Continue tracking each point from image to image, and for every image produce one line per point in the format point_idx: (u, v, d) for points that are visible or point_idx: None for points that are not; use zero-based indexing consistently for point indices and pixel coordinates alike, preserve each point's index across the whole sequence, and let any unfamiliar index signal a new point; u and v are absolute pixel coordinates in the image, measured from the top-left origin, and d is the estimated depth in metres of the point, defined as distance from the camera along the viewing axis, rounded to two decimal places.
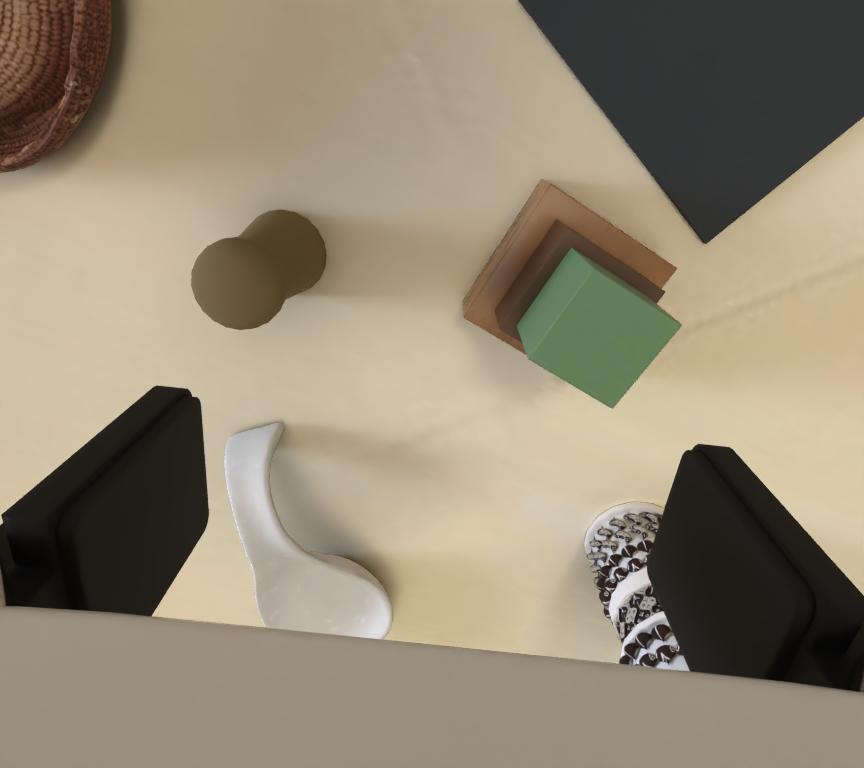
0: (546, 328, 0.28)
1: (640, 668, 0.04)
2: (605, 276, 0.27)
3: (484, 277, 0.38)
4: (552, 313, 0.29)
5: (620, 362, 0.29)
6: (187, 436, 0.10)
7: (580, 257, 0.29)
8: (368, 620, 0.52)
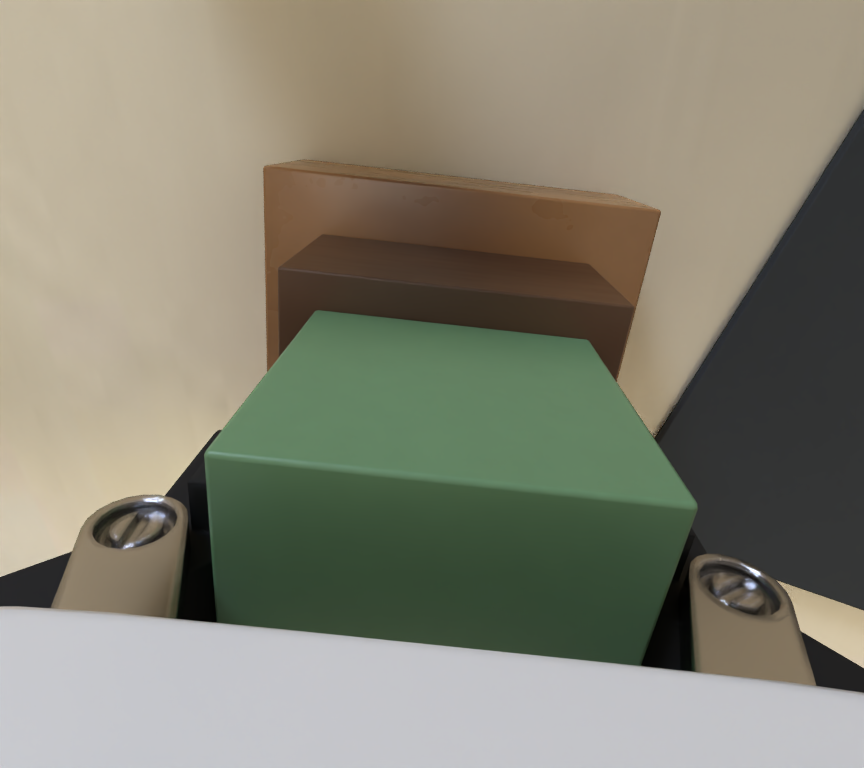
0: (369, 453, 0.06)
1: (640, 668, 0.04)
2: (677, 556, 0.06)
3: (381, 173, 0.15)
4: (428, 429, 0.07)
5: None
6: None
7: (623, 396, 0.09)
8: None
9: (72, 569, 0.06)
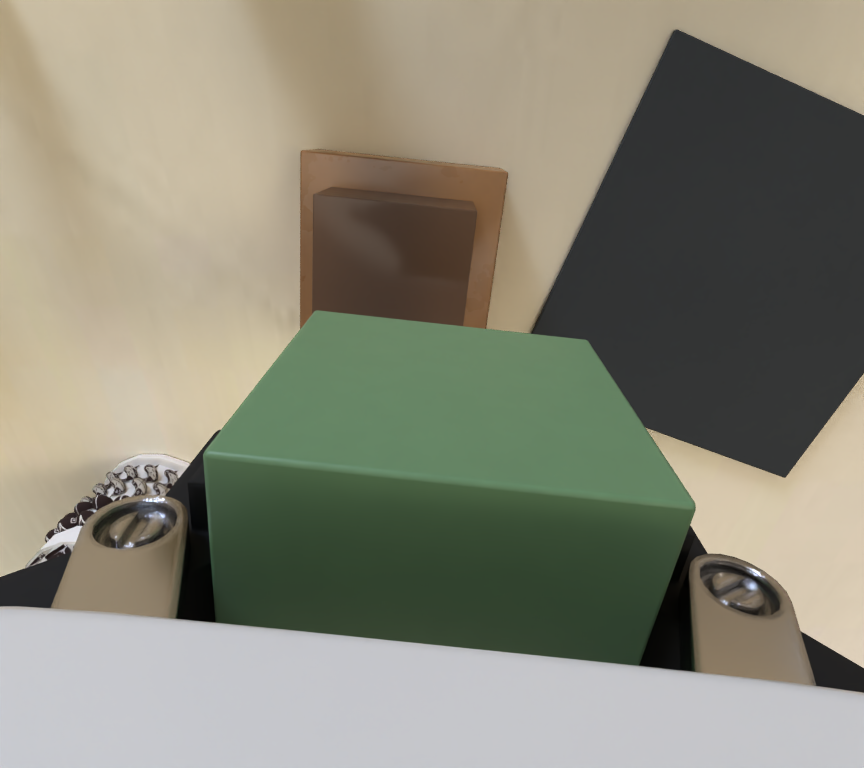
0: (368, 453, 0.06)
1: (640, 670, 0.04)
2: (675, 556, 0.06)
3: (362, 155, 0.28)
4: (427, 428, 0.07)
5: None
6: None
7: (621, 396, 0.09)
8: None
9: (72, 569, 0.06)
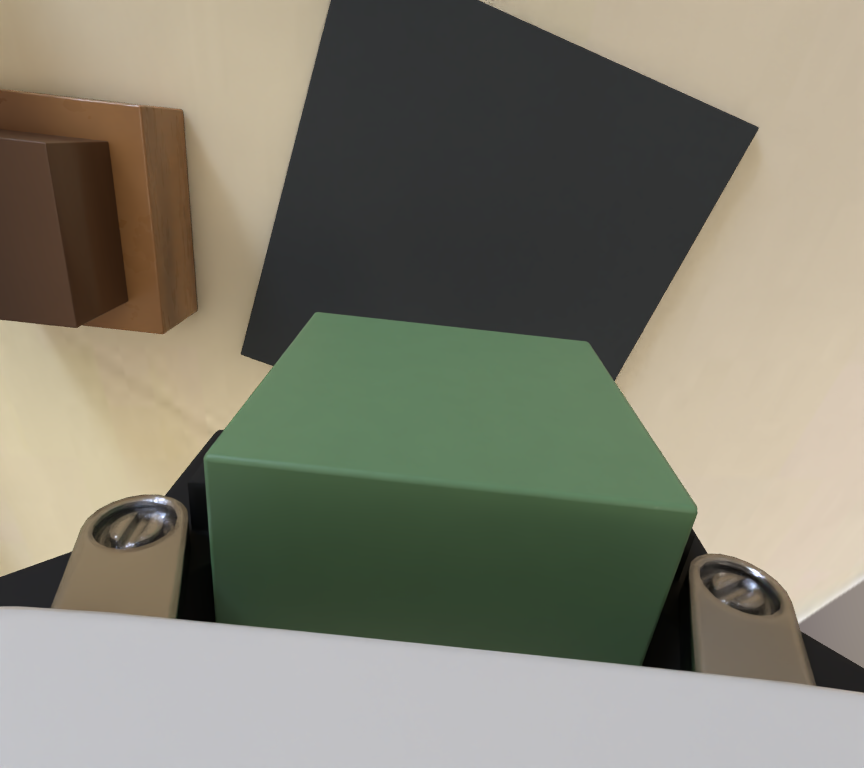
0: (368, 456, 0.06)
1: (640, 670, 0.04)
2: (677, 559, 0.06)
3: None
4: (427, 431, 0.07)
5: None
6: None
7: (623, 398, 0.09)
8: None
9: (72, 569, 0.06)
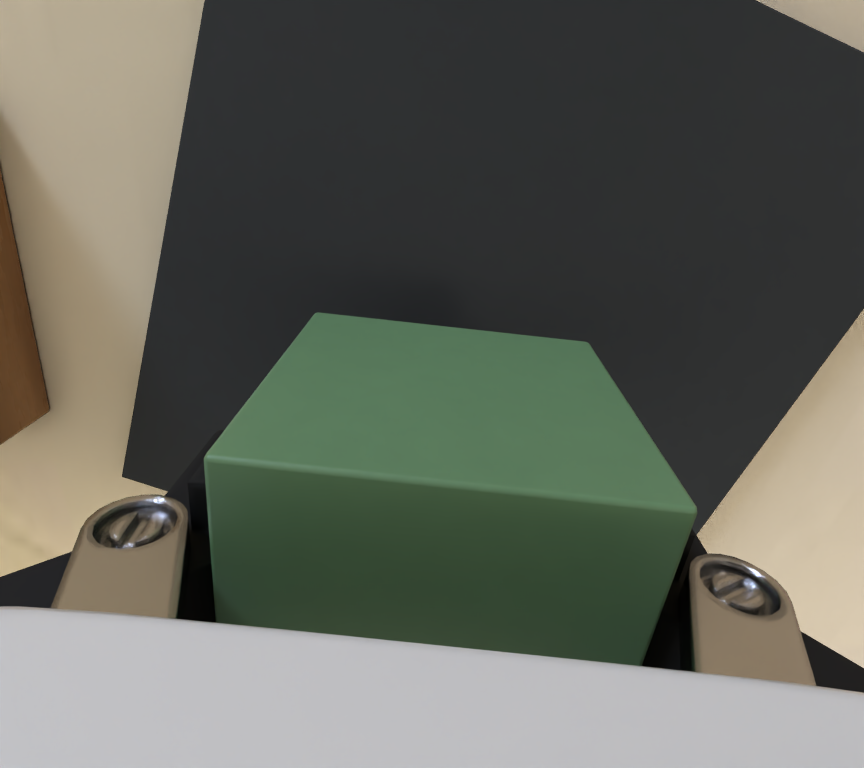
0: (368, 457, 0.06)
1: (640, 668, 0.04)
2: (676, 559, 0.06)
3: None
4: (427, 432, 0.07)
5: None
6: None
7: (622, 398, 0.09)
8: None
9: (72, 569, 0.06)
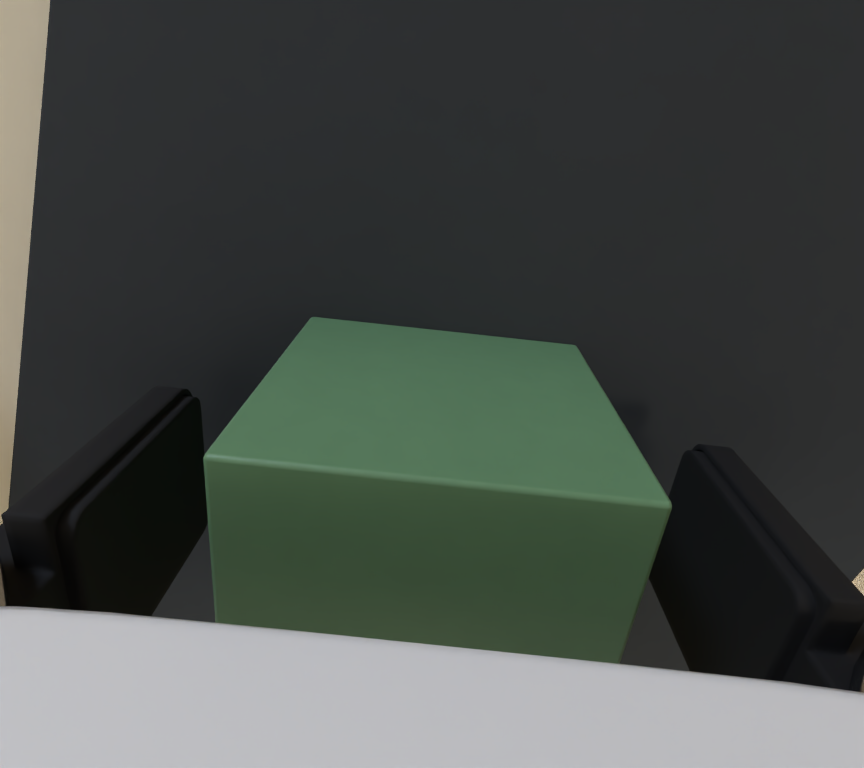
0: (361, 456, 0.07)
1: (640, 668, 0.04)
2: (653, 553, 0.07)
3: None
4: (417, 432, 0.07)
5: None
6: (187, 437, 0.10)
7: (606, 400, 0.09)
8: None
9: None
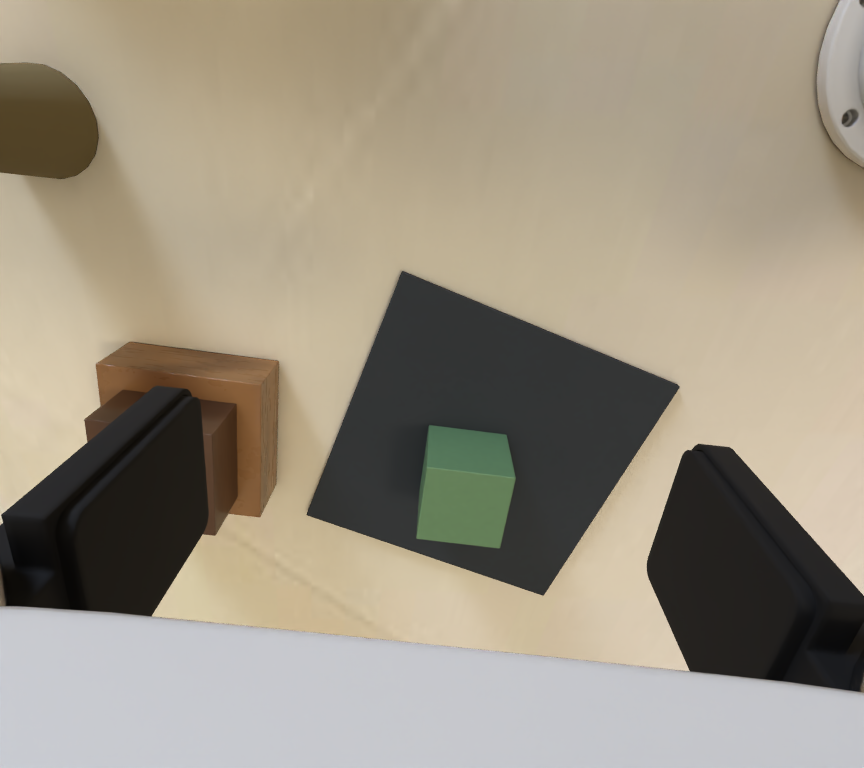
0: (455, 467, 0.34)
1: (640, 668, 0.04)
2: (512, 487, 0.34)
3: (154, 359, 0.35)
4: (465, 462, 0.35)
5: (455, 526, 0.36)
6: (187, 436, 0.10)
7: (509, 454, 0.37)
8: None
9: None
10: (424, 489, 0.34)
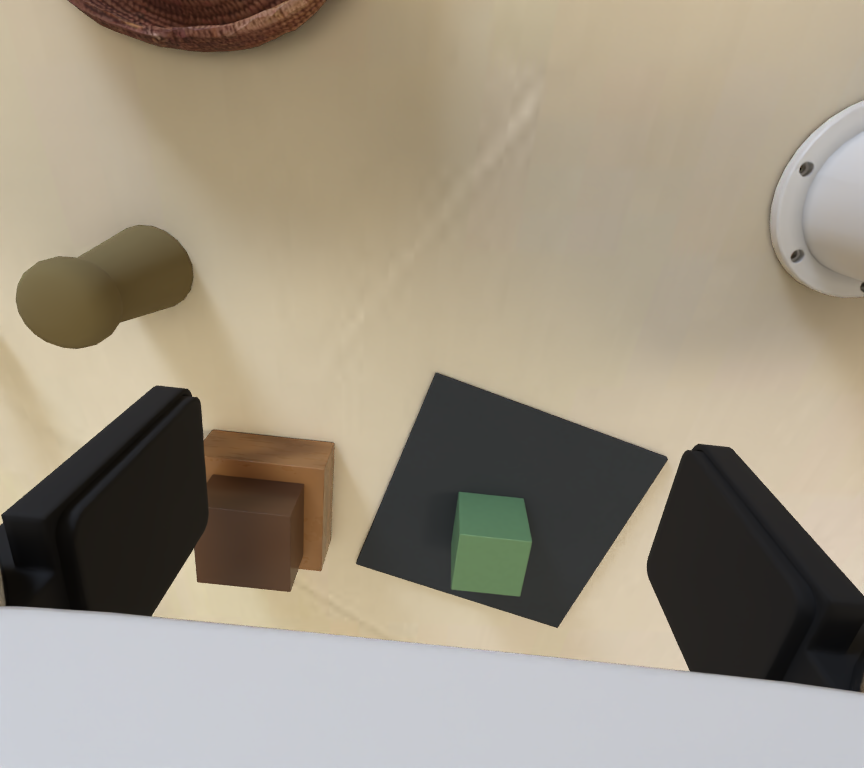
0: (483, 533, 0.42)
1: (641, 668, 0.04)
2: (530, 549, 0.42)
3: (235, 447, 0.43)
4: (490, 528, 0.43)
5: (482, 579, 0.43)
6: (187, 436, 0.10)
7: (526, 518, 0.44)
8: None
9: None
10: (457, 551, 0.42)
